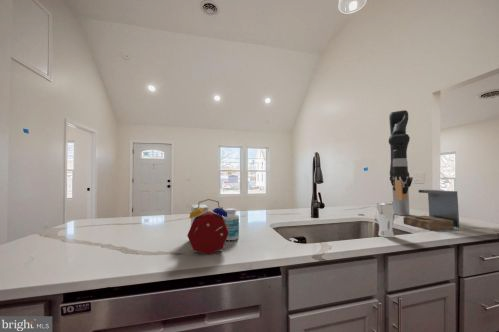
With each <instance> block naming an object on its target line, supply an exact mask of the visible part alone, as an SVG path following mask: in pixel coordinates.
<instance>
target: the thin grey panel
mask: <svg viewBox="0 0 499 332" xmlns="http://www.w3.org/2000/svg"><path fill="white" fill-rule="evenodd" d="M418 193H420V194H421V193H422V194H427V197H428V198H427V201H428V216H430V217H436V218H441V219H447V220H452V221H453V224H454V228H456V229H460V216H459V214H460V213H459V212H460V211H459V199H458V191H456V190H455V191H454V190H441V189H440V190H439V189H418Z"/></svg>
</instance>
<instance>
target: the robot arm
mask: <svg viewBox="0 0 499 332" xmlns="http://www.w3.org/2000/svg"><path fill="white" fill-rule="evenodd" d="M408 122H409V112H408V111H407V110H406V109H405V110H403V109H402V110H397V111H391V112H390V113H389V128H390V132H389V133H390V136H389V137H388V145H390V146H389V147H390V165H389V181H390V183H391V187H392V200H391V204H393V207H394V215H396V216H410V214H411V213H410V212H411V211H410V197H409V196H410V195H409V188H410V187H411V186H412V182H413V179H414V177H411V176H410V172H409V167H408V166H409V165H408V158H407V157H408V155H407V153H408V147H409V146H408V145H409V142H410V140H411V139H410V138H411V137H410V136H409V134H407V125H408ZM395 180H401V183H402V186H403V194H406V193H407V200H399V199H396V192H395Z"/></svg>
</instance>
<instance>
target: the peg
mask: <svg viewBox="0 0 499 332" xmlns="http://www.w3.org/2000/svg"><path fill="white" fill-rule="evenodd" d="M395 192H396V199H399V200H407V193H406V194H403V186H402V183H401V180H395Z"/></svg>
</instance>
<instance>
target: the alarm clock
mask: <svg viewBox="0 0 499 332" xmlns="http://www.w3.org/2000/svg"><path fill="white" fill-rule="evenodd" d="M207 201H211V202H215V203H217V207H215V208H214V209H212V211H209V210H208V212H206V213H204V214H202V213H203V212H205V210H206V209H207V207H208V206H207V207H206V208H205V209H204V210H203V209H202V208H200V209H197V208H199V205H201V203H203V202H207ZM197 203H198V204H197V205H198V207H197V208H196V209H195V208H194V211H192V212H191V211H190V213H189V218H188V219H191V218H193V217H195V216H197V217H195V219H194V221H193V223H192V225H191V224H190V228H189V229H188V233H187V238H188V241H189V243H190V245H191V248H192V250H193V251H194V252H196V253H197V252H199V253H201V254H204V255H206V254H209V255H211V254H214V253H215V252H218V251H220V250H222V251H223V248H224V245H225V244H226V239H227V236H228V234H229V233H228V228H227V226H226V223H225V221H224V219H223V216H224V217H228V216H227V212H226V209H225V210H224V207H223V206H221V205H220V201H218V200H214V199H211V198H207V199H205V200H204V199H203V200H201V201H198V202H197ZM200 214H202V215H200ZM198 215H199V216H198Z"/></svg>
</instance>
